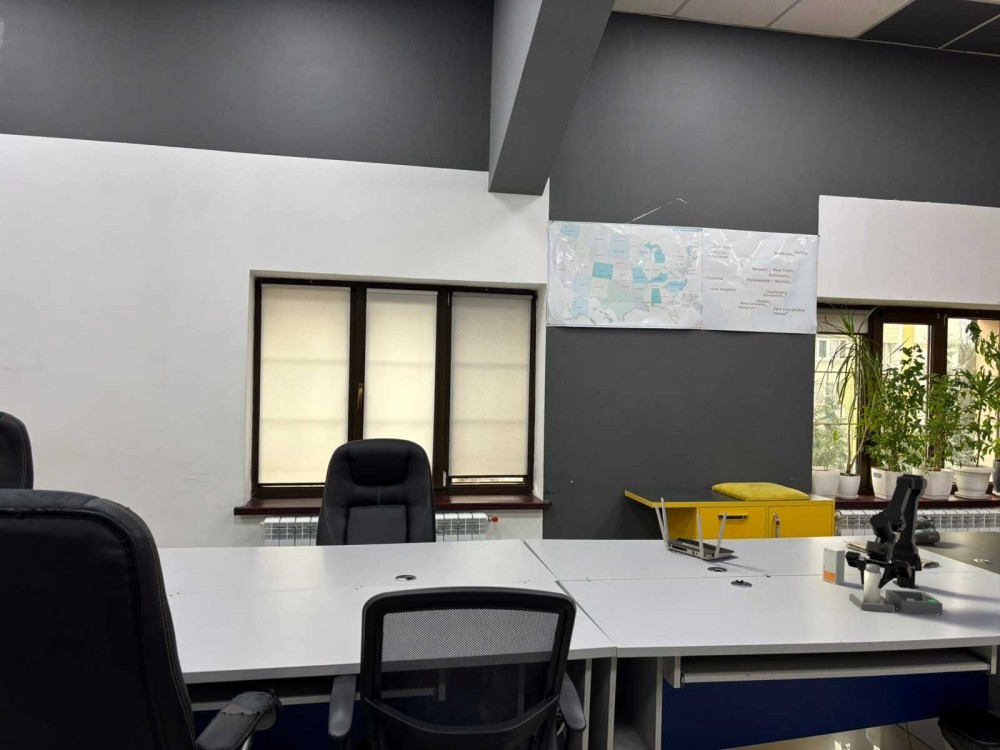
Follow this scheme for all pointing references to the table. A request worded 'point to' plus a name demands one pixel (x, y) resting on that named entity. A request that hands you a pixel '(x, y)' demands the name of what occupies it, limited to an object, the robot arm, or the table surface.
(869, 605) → the grey u-shaped rail
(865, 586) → the plug
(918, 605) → the dock
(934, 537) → the grey rock
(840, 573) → the skincare box
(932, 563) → the newspaper
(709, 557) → the wireless router
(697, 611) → the table surface
